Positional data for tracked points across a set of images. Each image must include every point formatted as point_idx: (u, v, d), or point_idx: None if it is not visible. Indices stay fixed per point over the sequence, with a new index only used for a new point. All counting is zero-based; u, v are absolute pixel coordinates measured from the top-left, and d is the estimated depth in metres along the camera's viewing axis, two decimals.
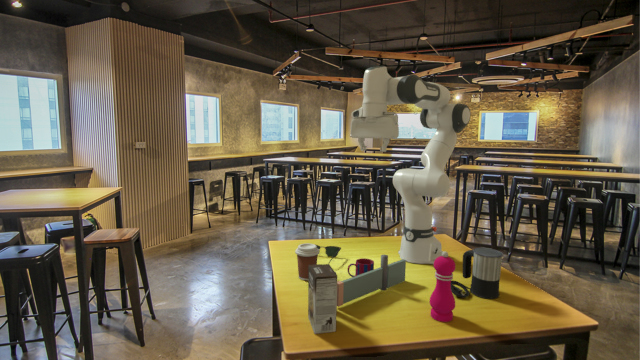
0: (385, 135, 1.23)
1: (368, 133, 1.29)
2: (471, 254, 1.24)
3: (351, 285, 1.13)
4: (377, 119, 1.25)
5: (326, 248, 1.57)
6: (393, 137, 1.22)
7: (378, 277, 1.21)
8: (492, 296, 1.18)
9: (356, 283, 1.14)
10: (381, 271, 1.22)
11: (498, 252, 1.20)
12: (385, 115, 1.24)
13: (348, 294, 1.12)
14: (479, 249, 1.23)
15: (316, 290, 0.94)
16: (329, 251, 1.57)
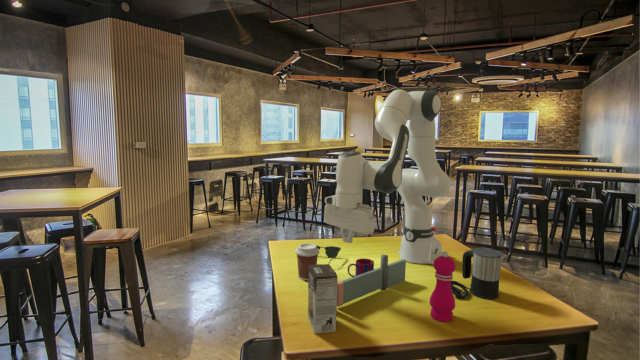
0: (360, 230, 1.12)
1: (342, 224, 1.18)
2: (471, 254, 1.24)
3: (351, 285, 1.13)
4: (351, 211, 1.14)
5: (326, 248, 1.57)
6: (368, 233, 1.10)
7: (378, 277, 1.21)
8: (492, 297, 1.18)
9: (356, 283, 1.14)
10: (381, 271, 1.22)
11: (498, 252, 1.20)
12: (360, 207, 1.13)
13: (348, 294, 1.12)
14: (479, 249, 1.23)
15: (316, 290, 0.94)
16: (329, 251, 1.57)
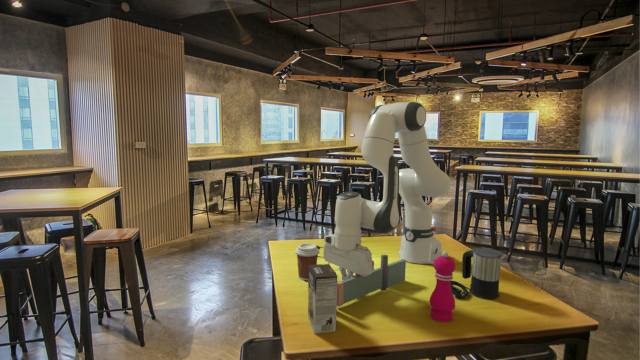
0: (358, 271, 1.13)
1: (341, 263, 1.19)
2: (471, 254, 1.24)
3: (351, 285, 1.13)
4: (350, 251, 1.16)
5: None
6: (366, 275, 1.12)
7: (378, 277, 1.21)
8: (492, 297, 1.18)
9: (356, 283, 1.14)
10: (381, 271, 1.22)
11: (498, 252, 1.20)
12: (358, 248, 1.15)
13: (348, 294, 1.12)
14: (479, 249, 1.23)
15: (316, 290, 0.94)
16: None
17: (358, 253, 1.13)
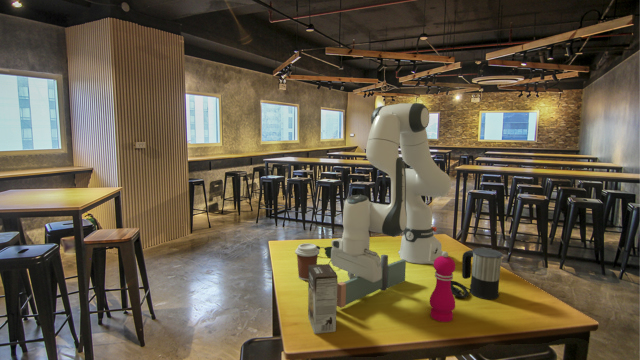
0: (367, 277, 1.11)
1: (349, 268, 1.17)
2: (471, 254, 1.24)
3: (353, 286, 1.12)
4: (358, 256, 1.13)
5: (326, 249, 1.56)
6: (375, 281, 1.10)
7: None
8: (491, 297, 1.18)
9: (358, 284, 1.14)
10: None
11: (498, 252, 1.20)
12: (367, 253, 1.12)
13: (350, 295, 1.11)
14: (479, 249, 1.23)
15: (316, 290, 0.94)
16: (328, 252, 1.57)
17: (367, 258, 1.10)
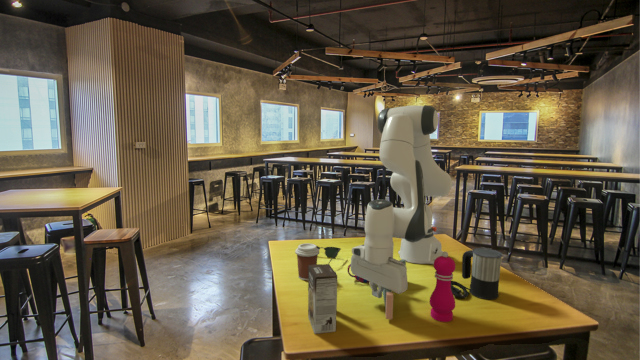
0: (392, 287, 1.04)
1: (371, 278, 1.09)
2: (470, 254, 1.24)
3: None
4: (382, 265, 1.06)
5: (325, 249, 1.56)
6: (401, 292, 1.02)
7: None
8: (491, 297, 1.17)
9: None
10: None
11: (497, 253, 1.20)
12: (391, 262, 1.05)
13: None
14: (478, 249, 1.22)
15: (316, 290, 0.94)
16: (328, 252, 1.56)
17: (391, 268, 1.03)
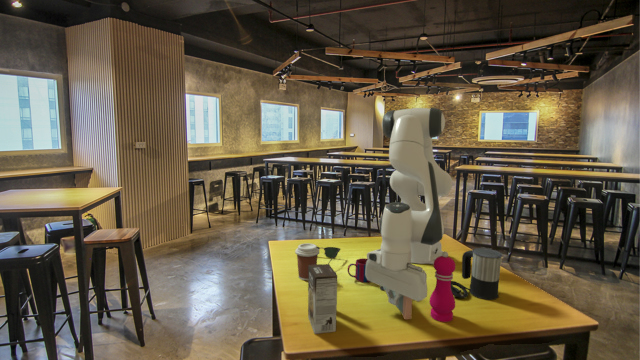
0: (411, 295, 0.99)
1: (388, 284, 1.05)
2: (470, 254, 1.24)
3: None
4: (400, 272, 1.01)
5: (325, 249, 1.56)
6: (420, 300, 0.97)
7: None
8: (491, 297, 1.17)
9: None
10: None
11: (497, 253, 1.19)
12: (410, 268, 1.00)
13: None
14: (478, 250, 1.22)
15: (316, 290, 0.94)
16: (328, 252, 1.56)
17: (410, 274, 0.98)
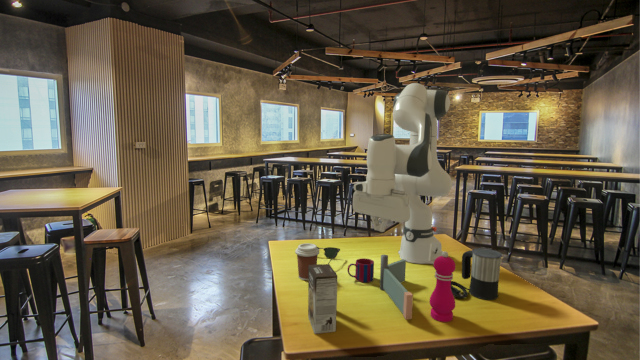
0: (394, 218, 1.05)
1: (374, 212, 1.10)
2: (470, 255, 1.24)
3: None
4: (384, 197, 1.07)
5: (325, 249, 1.55)
6: (404, 221, 1.04)
7: None
8: (491, 297, 1.17)
9: None
10: None
11: (497, 253, 1.19)
12: (394, 193, 1.06)
13: None
14: (478, 250, 1.22)
15: (316, 290, 0.94)
16: (328, 253, 1.56)
17: (394, 198, 1.04)
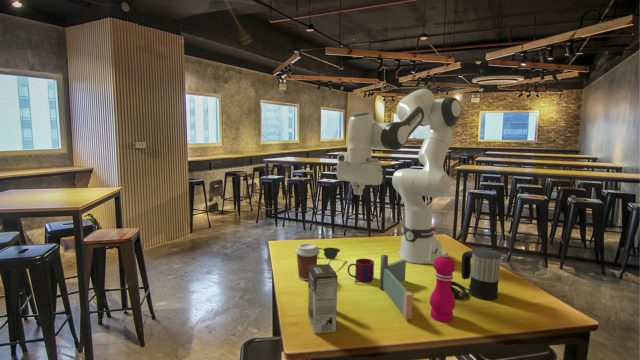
0: (369, 181, 1.26)
1: (353, 178, 1.32)
2: (470, 255, 1.24)
3: None
4: (361, 165, 1.28)
5: (325, 250, 1.55)
6: (376, 184, 1.25)
7: None
8: (490, 298, 1.17)
9: None
10: None
11: (497, 253, 1.19)
12: (369, 161, 1.27)
13: None
14: (478, 250, 1.22)
15: (316, 290, 0.94)
16: (327, 253, 1.55)
17: (369, 164, 1.26)
